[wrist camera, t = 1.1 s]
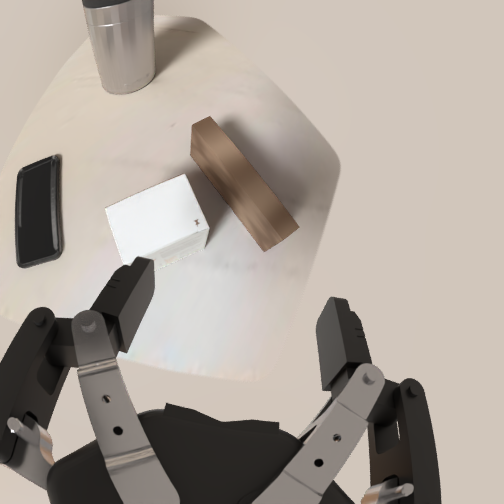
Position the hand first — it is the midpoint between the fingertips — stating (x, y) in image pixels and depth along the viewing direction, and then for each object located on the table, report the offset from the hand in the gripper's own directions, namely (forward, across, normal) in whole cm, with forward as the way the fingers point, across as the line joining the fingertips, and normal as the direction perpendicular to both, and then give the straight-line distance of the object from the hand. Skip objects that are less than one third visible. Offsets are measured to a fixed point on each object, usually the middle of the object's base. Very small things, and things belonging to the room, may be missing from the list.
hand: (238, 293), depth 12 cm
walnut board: (+23, +2, +5) cm, 24 cm away
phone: (+16, +29, +9) cm, 34 cm away
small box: (+17, +9, +10) cm, 22 cm away
